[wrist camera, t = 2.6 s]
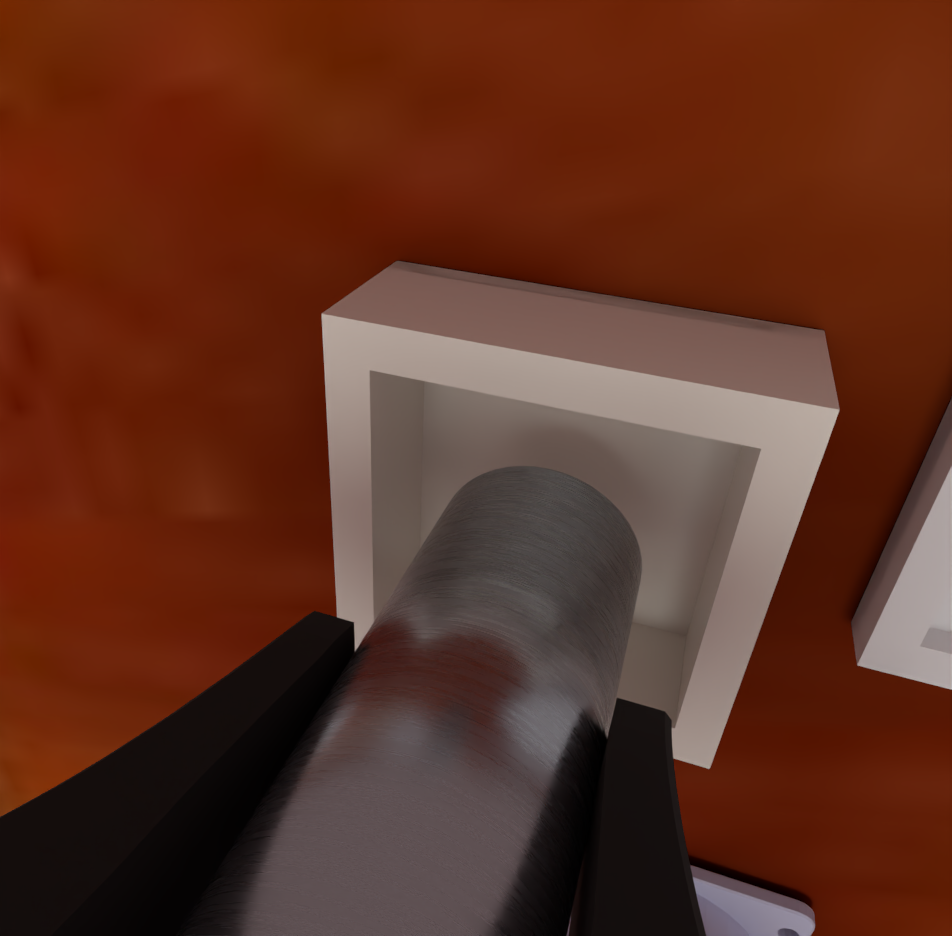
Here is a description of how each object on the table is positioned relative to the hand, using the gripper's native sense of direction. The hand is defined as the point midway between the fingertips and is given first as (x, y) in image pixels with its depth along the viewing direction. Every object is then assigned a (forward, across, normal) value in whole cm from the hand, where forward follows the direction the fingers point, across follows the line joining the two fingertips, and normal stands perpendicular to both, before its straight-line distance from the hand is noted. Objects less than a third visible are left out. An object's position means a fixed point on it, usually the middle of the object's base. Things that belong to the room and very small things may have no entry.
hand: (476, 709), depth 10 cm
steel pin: (+3, 0, 0) cm, 3 cm away
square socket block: (+6, 0, 0) cm, 6 cm away
